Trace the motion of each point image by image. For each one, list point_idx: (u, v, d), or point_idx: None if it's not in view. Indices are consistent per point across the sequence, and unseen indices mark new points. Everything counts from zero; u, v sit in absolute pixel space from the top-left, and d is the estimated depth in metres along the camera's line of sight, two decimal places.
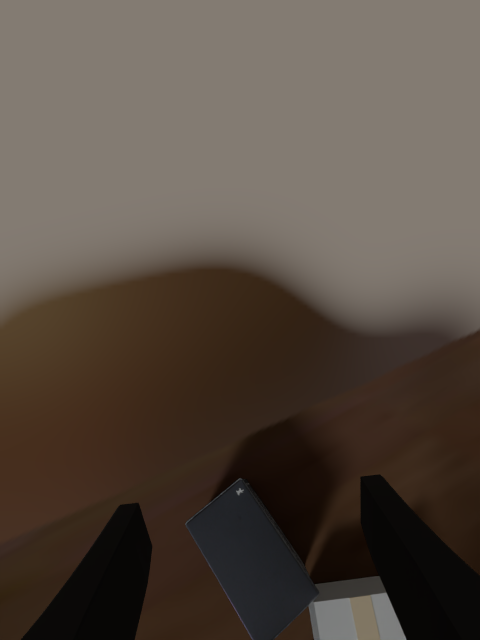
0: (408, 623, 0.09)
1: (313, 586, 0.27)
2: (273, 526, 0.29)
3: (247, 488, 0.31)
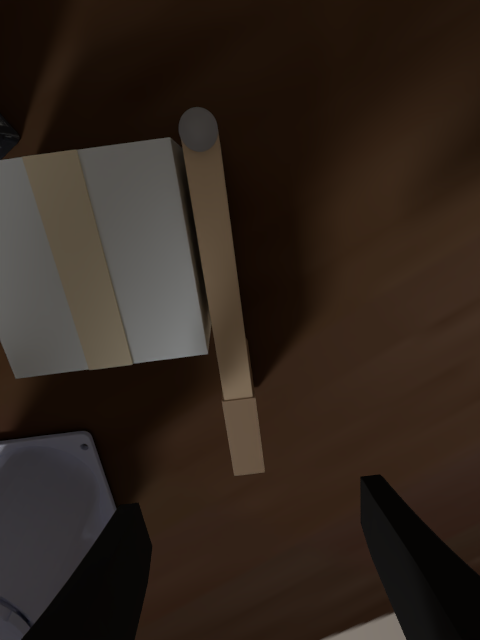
0: (408, 623, 0.09)
1: None
2: None
3: None
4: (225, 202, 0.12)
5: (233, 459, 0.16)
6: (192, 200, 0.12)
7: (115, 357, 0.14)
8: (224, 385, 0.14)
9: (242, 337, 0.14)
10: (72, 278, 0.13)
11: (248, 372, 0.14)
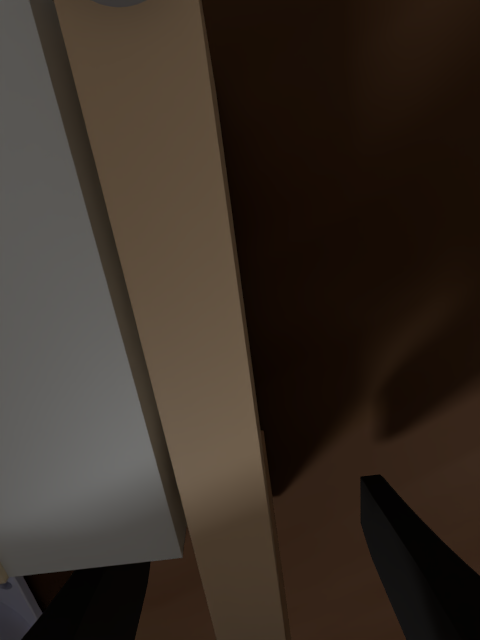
0: (408, 623, 0.09)
1: None
2: None
3: None
4: (219, 200, 0.04)
5: None
6: (107, 194, 0.03)
7: None
8: (221, 631, 0.06)
9: (264, 545, 0.05)
10: None
11: (278, 609, 0.06)
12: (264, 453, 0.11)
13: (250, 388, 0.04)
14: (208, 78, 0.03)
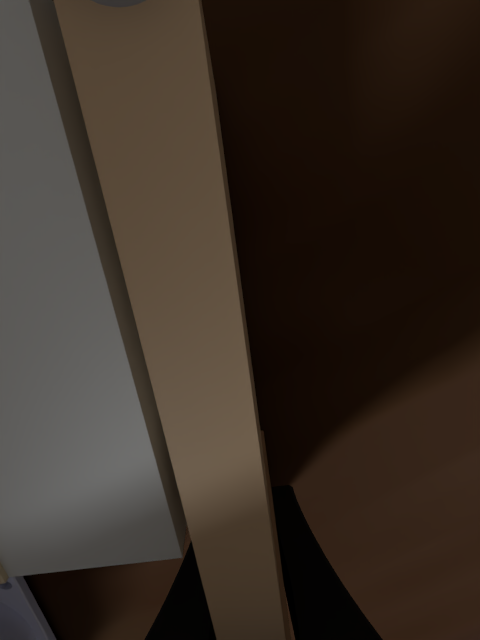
0: (296, 635, 0.09)
1: None
2: None
3: None
4: (219, 200, 0.04)
5: None
6: (107, 194, 0.03)
7: None
8: (221, 631, 0.06)
9: (264, 545, 0.05)
10: None
11: (278, 609, 0.06)
12: (264, 453, 0.11)
13: (250, 388, 0.04)
14: (208, 78, 0.03)
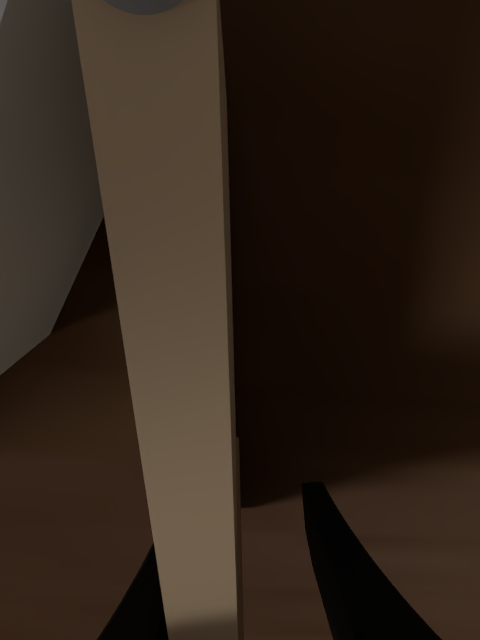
0: (335, 631, 0.09)
1: None
2: None
3: None
4: (216, 215, 0.04)
5: None
6: (105, 196, 0.03)
7: None
8: (175, 638, 0.06)
9: (226, 556, 0.05)
10: None
11: (234, 620, 0.06)
12: (237, 460, 0.11)
13: (228, 401, 0.04)
14: (218, 94, 0.03)
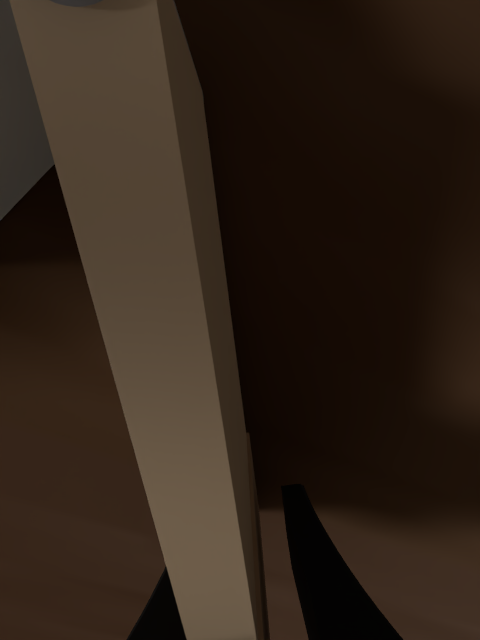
0: (309, 633, 0.09)
1: None
2: None
3: None
4: (181, 203, 0.04)
5: None
6: (67, 195, 0.03)
7: None
8: (192, 635, 0.06)
9: (234, 550, 0.05)
10: None
11: (249, 614, 0.06)
12: (248, 456, 0.11)
13: (216, 393, 0.04)
14: (168, 80, 0.03)
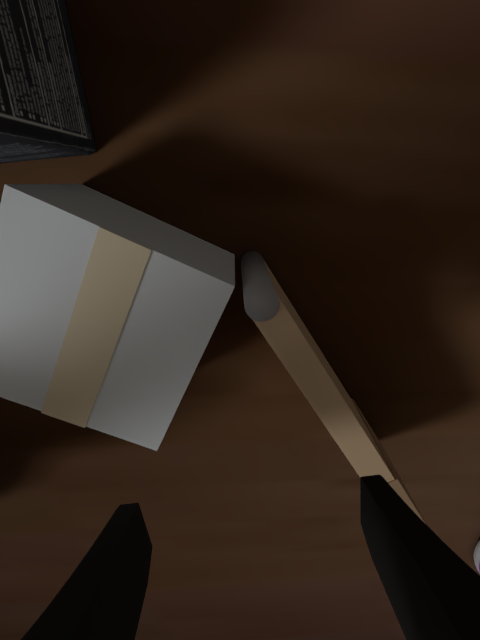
0: (408, 623, 0.09)
1: None
2: None
3: None
4: (306, 343, 0.13)
5: None
6: (277, 354, 0.13)
7: (73, 414, 0.14)
8: None
9: (364, 437, 0.14)
10: (77, 338, 0.13)
11: (382, 461, 0.15)
12: (357, 409, 0.20)
13: (335, 386, 0.13)
14: (292, 319, 0.12)
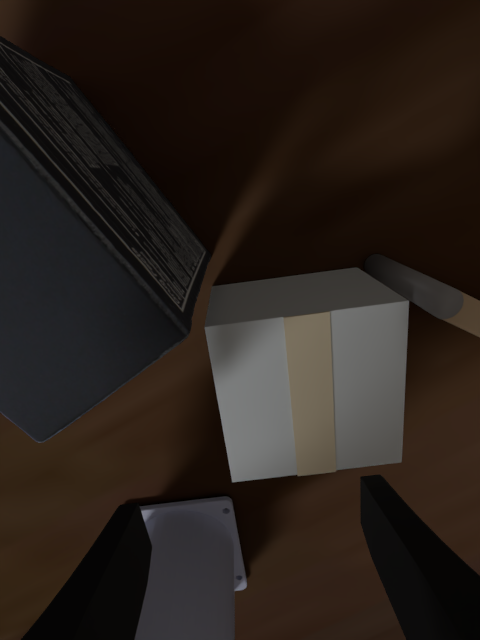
0: (408, 623, 0.09)
1: (170, 320, 0.09)
2: (18, 147, 0.08)
3: None
4: None
5: None
6: (475, 334, 0.14)
7: (321, 465, 0.16)
8: None
9: None
10: (302, 407, 0.15)
11: None
12: None
13: None
14: (476, 299, 0.13)
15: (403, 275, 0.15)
